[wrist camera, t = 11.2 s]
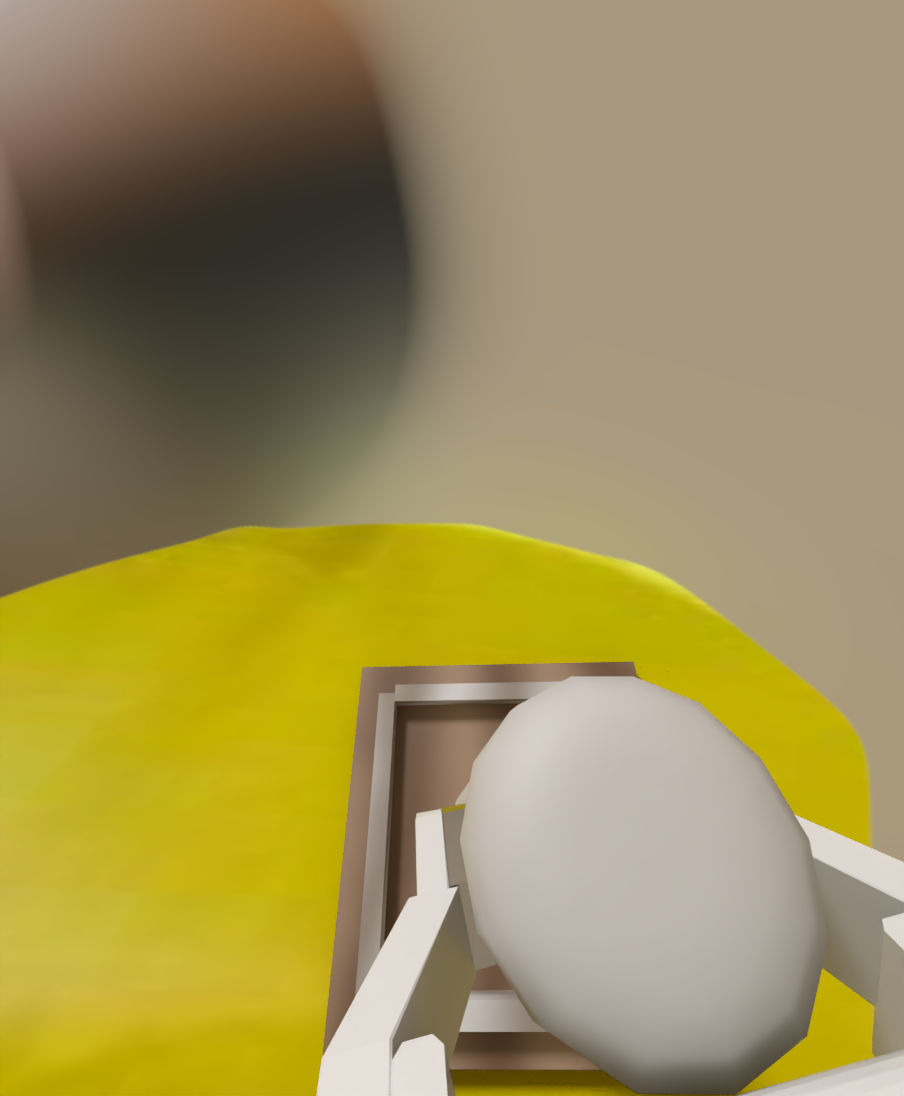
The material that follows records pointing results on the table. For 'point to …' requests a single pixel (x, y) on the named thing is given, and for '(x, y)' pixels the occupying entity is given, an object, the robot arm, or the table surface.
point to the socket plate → (390, 837)
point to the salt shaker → (644, 886)
